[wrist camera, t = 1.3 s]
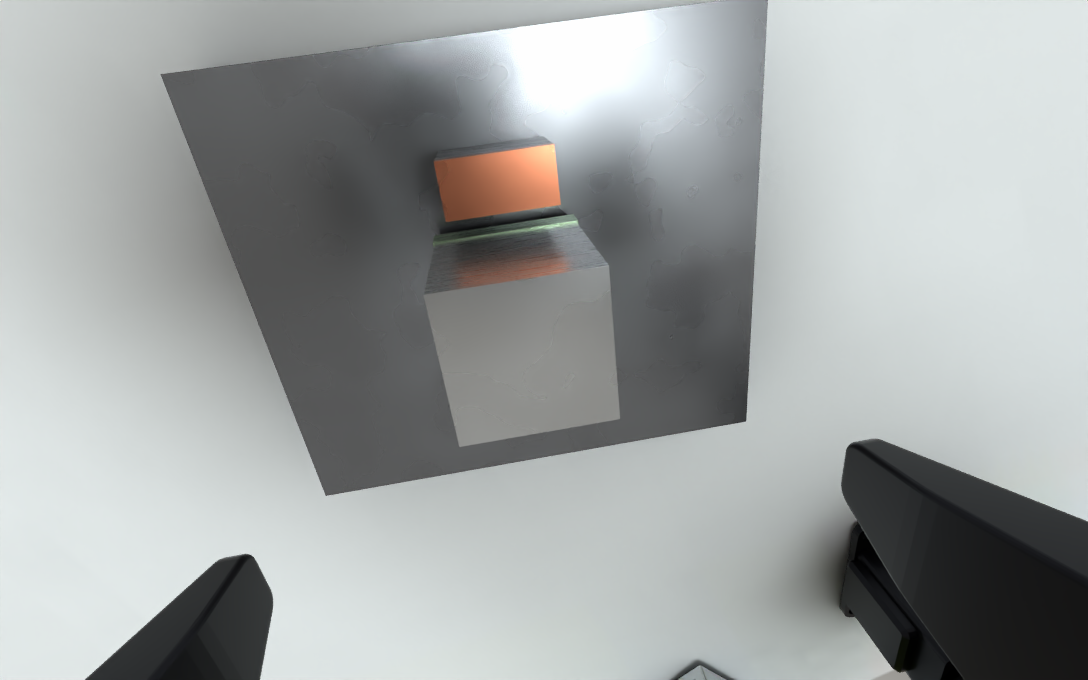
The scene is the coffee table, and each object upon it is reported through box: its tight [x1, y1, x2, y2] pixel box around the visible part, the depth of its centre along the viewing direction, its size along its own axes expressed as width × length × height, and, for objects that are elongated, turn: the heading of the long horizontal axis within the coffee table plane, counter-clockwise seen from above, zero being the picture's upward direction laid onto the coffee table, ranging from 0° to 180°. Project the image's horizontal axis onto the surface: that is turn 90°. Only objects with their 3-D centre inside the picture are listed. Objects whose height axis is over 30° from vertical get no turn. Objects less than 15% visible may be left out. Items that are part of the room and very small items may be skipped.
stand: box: [161, 0, 768, 496], centre depth 17 cm, size 16×14×4 cm
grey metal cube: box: [424, 214, 620, 447], centre depth 15 cm, size 4×4×5 cm
